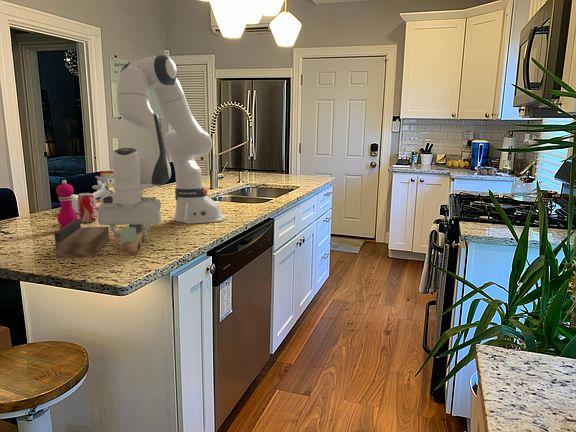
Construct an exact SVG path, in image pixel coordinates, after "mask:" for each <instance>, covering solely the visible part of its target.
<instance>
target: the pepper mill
mask: <svg viewBox="0 0 576 432" xmlns="http://www.w3.org/2000/svg"><path fill="white" fill-rule="evenodd" d="M55 190H56V192H55V193H56V195H58V201H59V203H60V210H59V213H58V215H57V222H58V223H59V225H60V226H59V230H60V229H61V228H63V227H64V226H66V225H67V224H69V223H70V222H72V221H74V220H75V219H79V215H78V214H77V213H76V212H75V211H74V209H73V207H72V200H73V198H72V197H73V196H72V195H73V194H74V191H75V190H74V187H73V185H72V184H69V183H67V180H66V179H63V180H62V181H61V184H58V185H57V187H56V189H55Z"/></svg>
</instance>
